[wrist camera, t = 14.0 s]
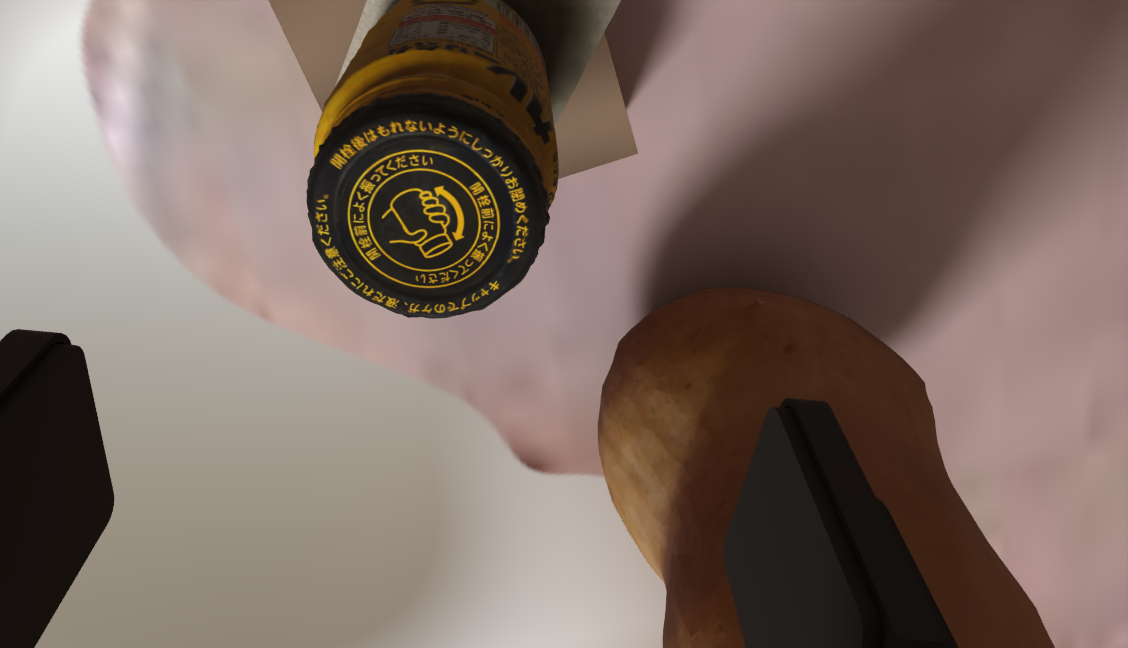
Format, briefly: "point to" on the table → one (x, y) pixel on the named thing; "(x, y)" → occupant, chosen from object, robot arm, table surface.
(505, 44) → the condiment
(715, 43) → the table surface
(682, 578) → the butternut squash
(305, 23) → the beige square block
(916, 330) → the table surface
